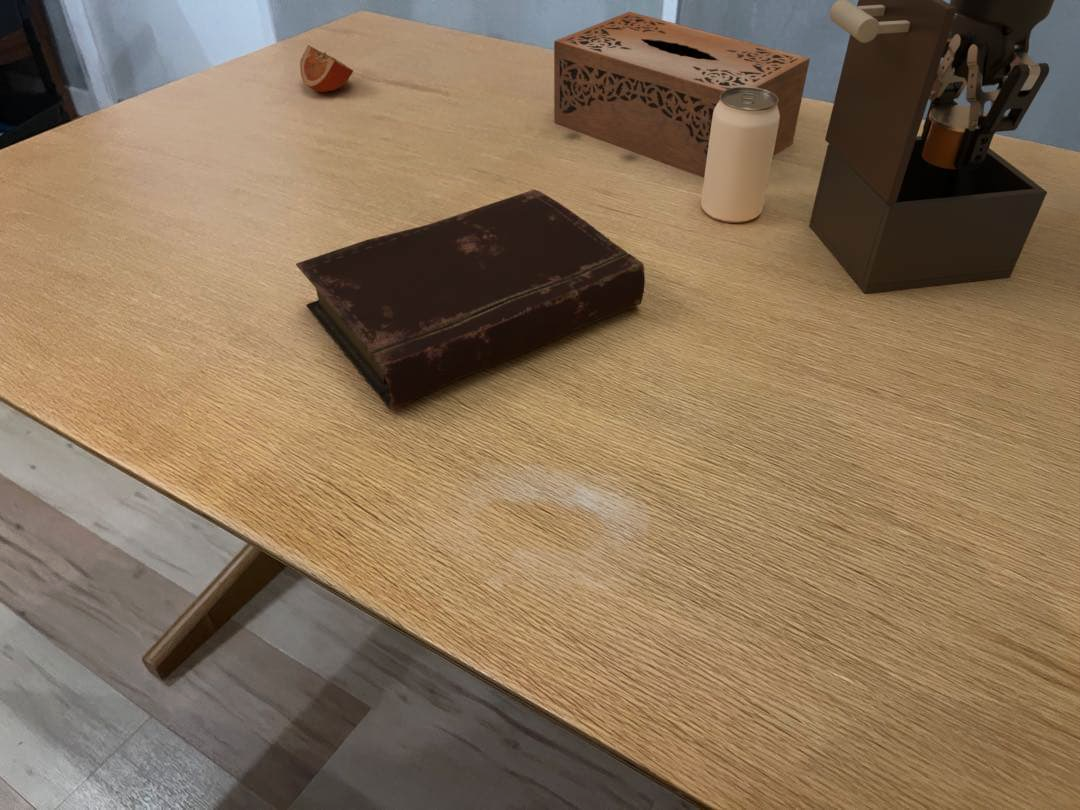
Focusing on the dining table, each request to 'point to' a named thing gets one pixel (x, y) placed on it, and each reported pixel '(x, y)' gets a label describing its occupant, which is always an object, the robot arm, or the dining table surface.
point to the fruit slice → (322, 71)
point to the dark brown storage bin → (926, 222)
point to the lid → (886, 83)
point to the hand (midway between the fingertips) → (948, 153)
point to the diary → (468, 292)
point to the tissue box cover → (665, 85)
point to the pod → (946, 134)
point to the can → (740, 154)
